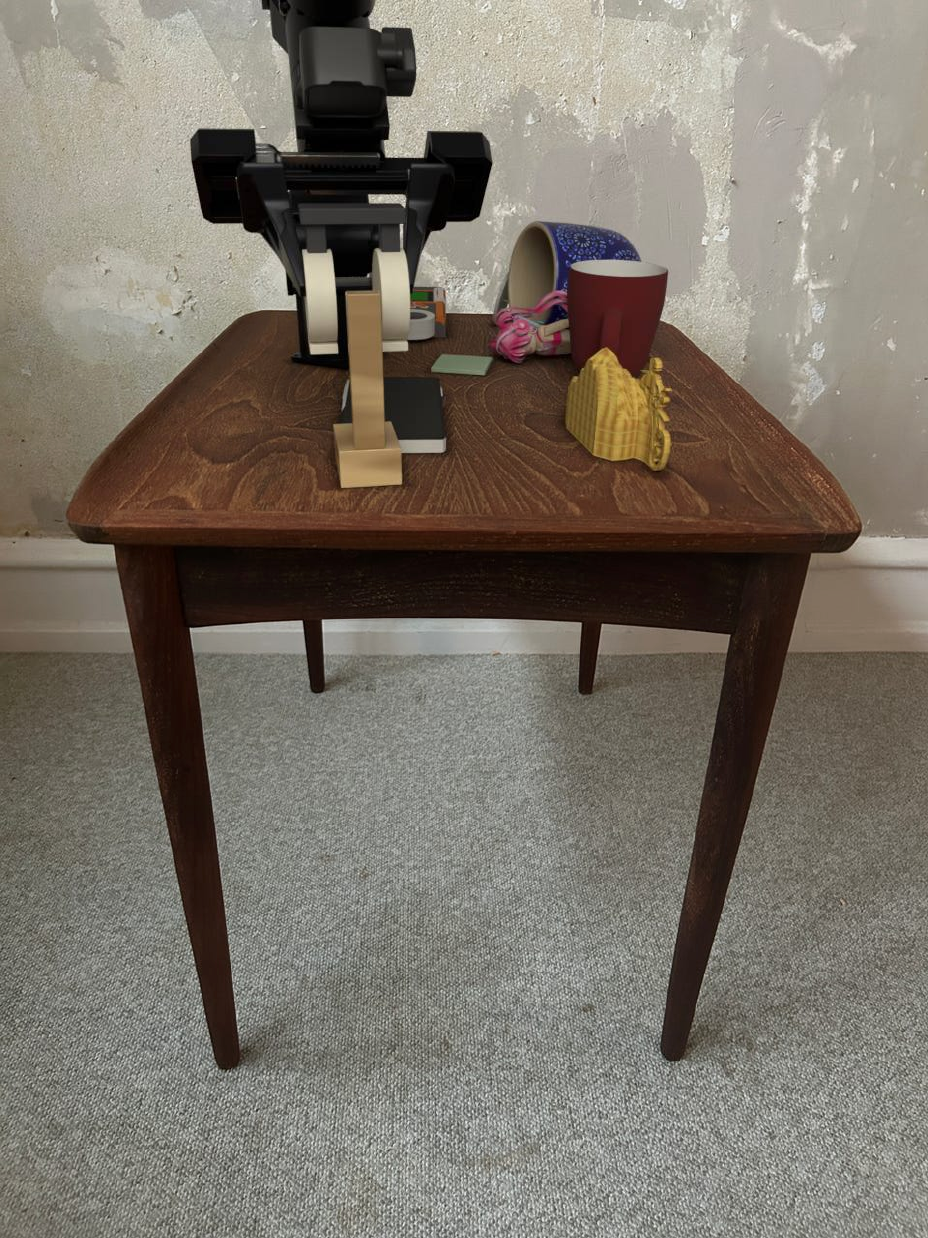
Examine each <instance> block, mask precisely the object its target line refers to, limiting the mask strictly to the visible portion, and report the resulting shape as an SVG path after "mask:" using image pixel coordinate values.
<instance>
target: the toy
mask: <svg viewBox="0 0 928 1238" xmlns="http://www.w3.org/2000/svg"><path fill="white" fill-rule="evenodd" d="M554 296H560V297H562V298H556V299H553V300H552V301H550V302H548V303H547V304H545V305H544V306H542V305H543V304H544V303H545V302H546V301H548V300H549V299H550V298H552V297H554ZM565 296H566V297H567V292H565V291H561V290H560V291H553V292H551V293H549V294H547V295H546V296H545V297H543V298H542V299H541V300H540V301H539V302H538V304H537V305H536V306H535V307H534V308H519V307H511V308H509V307H507V308H505V309H502V310H500V311H499V312H498V313H497V314H496V317H497V316H498V315H499V314H500V313H501V312H503V311H506V310H508V311H510V310H511V309H519V310H525V311H528V312H515V311H514V312H505V313H503V314H502V315H500V317H499V319H498V324H497V323H496V317H495V323H496V325H495V326H496V327H498V328H499V329H498V333H497V336H496V338H493V340H492V341H491V342H490V343H488V345H487V347H486V349H488V350H491V351H493V352H495V353H498V354H500V355H501V356H503V357H504V359H505V360H510V361H511V362H514V363H517V364H521V363H522V362H524V361H525V360H526V357H527V356H528V355H532V354H534V353H536V354H538V355H540V356H556V355H568V354H571V345H570V333H569V330H567V329H565V328H567V327H569V322H568V319H564V320H560V321H557V322H554V323H552V324H549V325H539V324H542V323H543V322H540V321H538V322H537V323H535V322H533V321H531V320H529V319H527V318H528V317H535V316H538V315H539V314H541V313H542V312H544V311H545V310H546V309H548V308H549V307H551V306H552V305H554V304H555V305H561V306H562V307H563V308H564V309H565V310H566V311H567V313H568V310H567V305H566V304H567V299H566V297H565ZM565 303H566V304H565ZM513 319H516V320H515V321H514V322H513ZM511 320H512V321H511ZM507 321H508V322H507ZM530 325H531V326H530ZM532 327H534V328H532ZM522 356H523V357H522Z"/></svg>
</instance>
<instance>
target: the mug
mask: <svg viewBox="0 0 928 1238" xmlns="http://www.w3.org/2000/svg"><path fill="white" fill-rule="evenodd" d="M668 277H669V269H668V268H666V267H665V266H663V265H659V264H657V263H656V264H655V263H652V262H645V261H642V262H638V261H628V260H588V261H580V262H576V263H573V264H571V265H570V267H569V277H568V288H567V310H568V322H569V333H570V345H571V353H570V354H571V360H572V363H573V366H574V368H575V369H574V370H575V371H576V374H577V377H579V374H580V372H581V369H583V368H584V367H585V365H586V362H587V361H588V359H590V358H591V357H592V356H594V355H595V354H596V353H598V352H599V351H600V350H601V349H604V348H606V347H607V348H608V349H609V350H610V351H611V352H612V353H613V354H614V355H615V356H616V357H617V359H618V361H619V364H620V365H621V366H622V368H623V369H627V371H629V373H630V374H631V376H632V377H633V378H635V379H639V377H640V375H641V374H642V373H643V372H642V371H640V370H645V367H646V365H647V362H648V360H649V359H650V354H651V351H652V348H653V344H654V341H655V337H656V335H657V331H658V328H659V324H660V321H661V317H662V315H663V311H664V307H665V301H666V296H667V287H668V280H669V279H668Z"/></svg>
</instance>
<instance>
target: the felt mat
mask: <svg viewBox="0 0 928 1238" xmlns="http://www.w3.org/2000/svg"><path fill="white" fill-rule="evenodd" d="M493 361H494V357H493V356H480V355H467V354H465V355H464V354H450V353H449V354H448V353H441V355H440V356H439V357H438V358H437V359H436V361H435V362H434V363H433V365H432V366H431V368H430V372H431V373H440V374H441V373H443V374H457V375H472V376H486V374H487V372H488V371H489V368H490V367H491V365H492V364H493Z"/></svg>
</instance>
